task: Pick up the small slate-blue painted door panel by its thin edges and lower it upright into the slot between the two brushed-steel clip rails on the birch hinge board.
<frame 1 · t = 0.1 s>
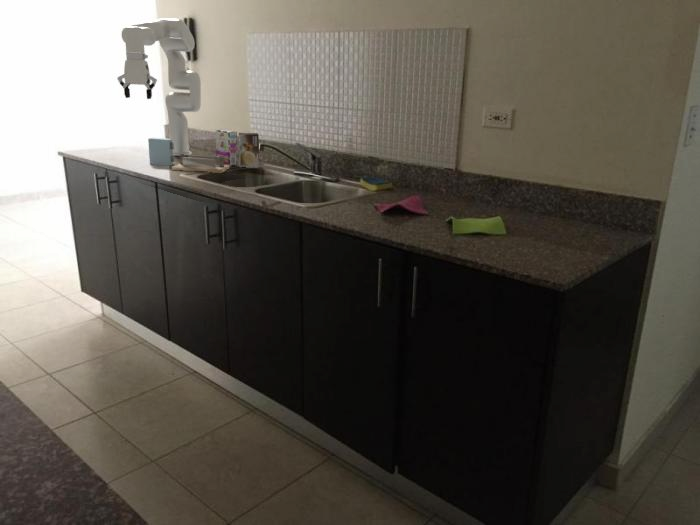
hand: (138, 98, 260), 31 cm above the worktop, fingers open, 9 cm apart
door panel: (161, 164, 283), on the worktop
candy bar box: (226, 164, 290), on the worktop
coffee box: (249, 167, 286), on the worktop
hinge bracket: (202, 168, 276), on the worktop
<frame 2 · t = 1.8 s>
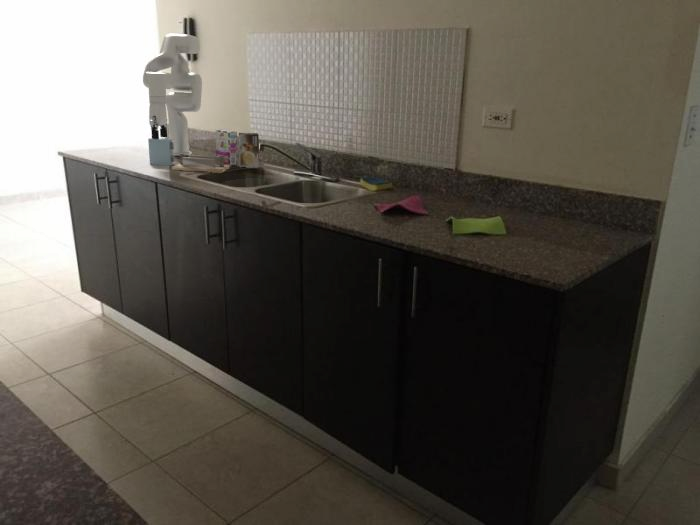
hand: (159, 138, 278), 12 cm above the worktop, fingers open, 9 cm apart
nothing on the worktop moved.
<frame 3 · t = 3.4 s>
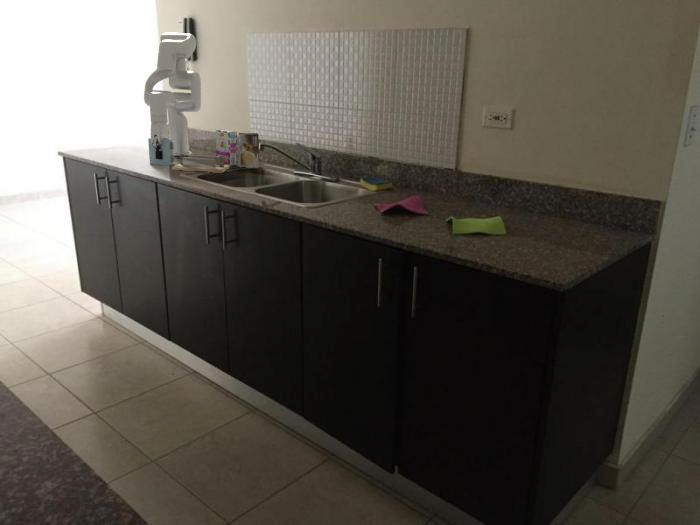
hand: (161, 158, 282), 3 cm above the worktop, fingers closed on door panel, 4 cm apart
door panel: (161, 164, 283), on the worktop, touching gripper
everything else where it was.
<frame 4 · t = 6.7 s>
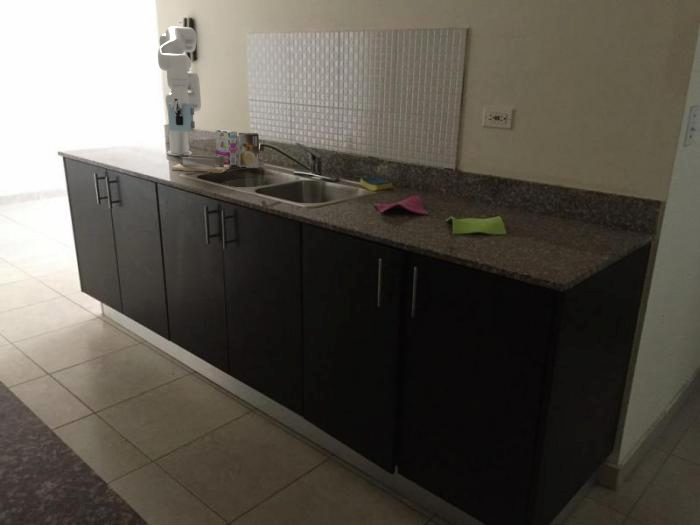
hand: (181, 124, 272), 20 cm above the worktop, fingers closed on door panel, 4 cm apart
door panel: (181, 130, 273), point 17 cm above the worktop, touching gripper
everything else where it was.
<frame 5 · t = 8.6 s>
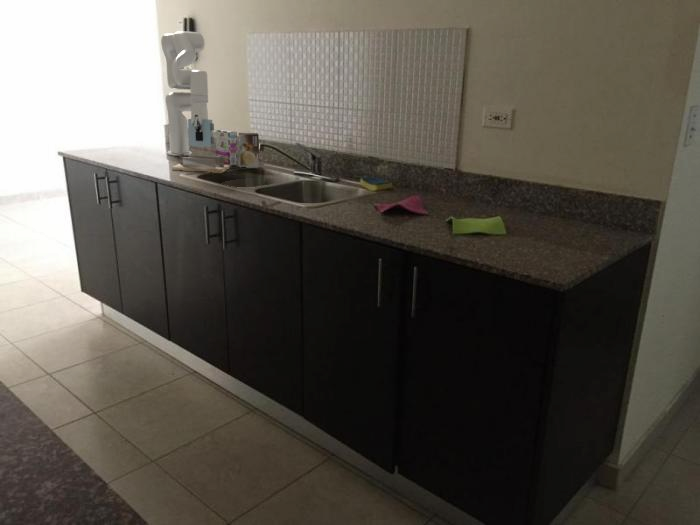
hand: (201, 139, 271), 13 cm above the worktop, fingers closed on door panel, 4 cm apart
door panel: (201, 146, 272), point 11 cm above the worktop, touching gripper
everything else where it was.
when the fingers open (7 cm above the worktop, at t = 10.1 s): door panel drops 2 cm, resting on hinge bracket.
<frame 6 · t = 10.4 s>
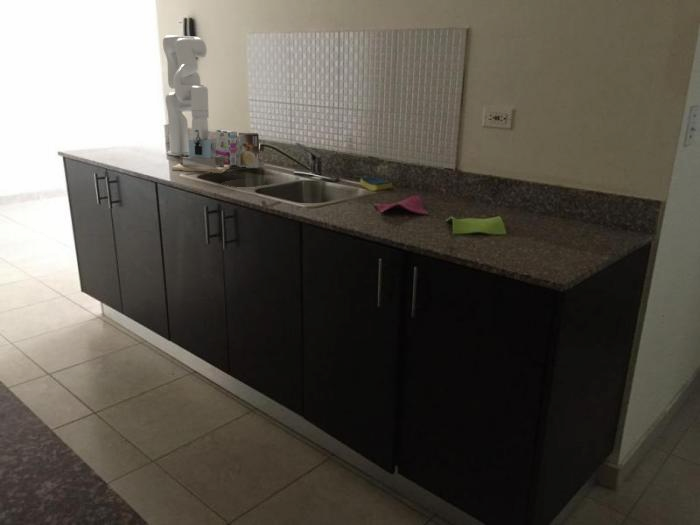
hand: (201, 153, 273), 7 cm above the worktop, fingers open, 7 cm apart
door panel: (201, 165, 275), point 2 cm above the worktop, touching hinge bracket
everything else where it was.
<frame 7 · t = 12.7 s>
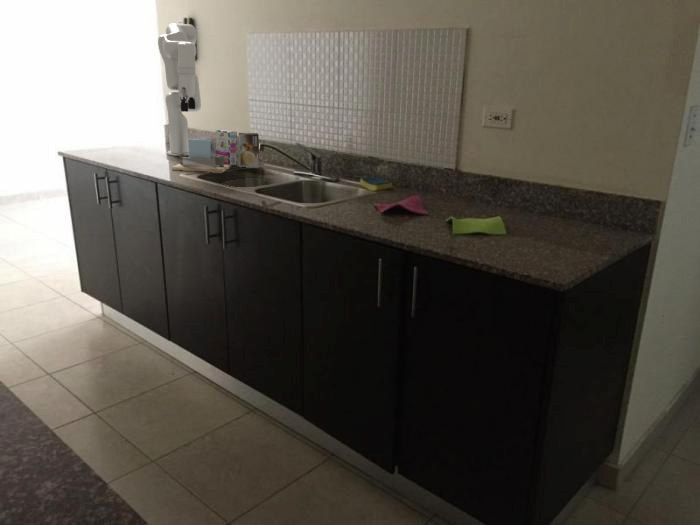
hand: (188, 110, 273), 26 cm above the worktop, fingers open, 9 cm apart
nothing on the worktop moved.
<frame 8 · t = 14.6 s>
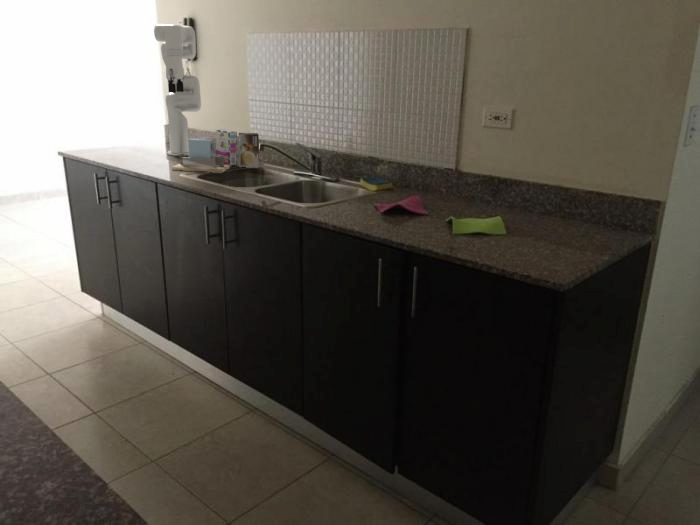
hand: (176, 92, 276), 33 cm above the worktop, fingers open, 9 cm apart
nothing on the worktop moved.
at the end: door panel 0.1 cm off-centre on the hinge bracket, point 1.5 cm above the hinge bracket's base; door panel tilted 0°; the gripper is holding nothing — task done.
